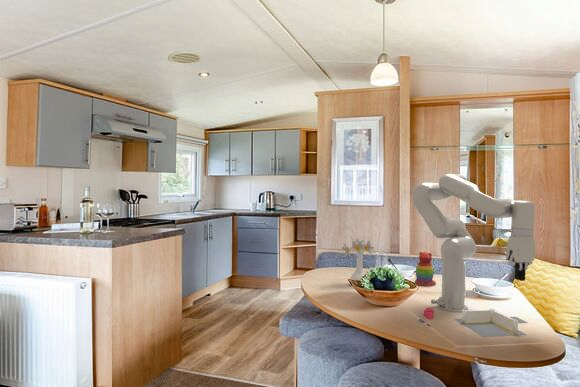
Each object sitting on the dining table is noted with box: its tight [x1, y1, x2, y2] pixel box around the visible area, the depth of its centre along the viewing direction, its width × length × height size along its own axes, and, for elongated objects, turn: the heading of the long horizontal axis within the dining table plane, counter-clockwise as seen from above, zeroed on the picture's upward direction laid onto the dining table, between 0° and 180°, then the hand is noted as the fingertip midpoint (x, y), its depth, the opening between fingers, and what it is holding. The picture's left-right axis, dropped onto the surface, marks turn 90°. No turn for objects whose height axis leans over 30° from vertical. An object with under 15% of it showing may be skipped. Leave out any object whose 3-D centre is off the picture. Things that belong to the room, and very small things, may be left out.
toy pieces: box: [417, 307, 435, 328], centre depth 153 cm, size 12×11×4 cm
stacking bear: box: [414, 251, 437, 287], centre depth 211 cm, size 11×10×18 cm
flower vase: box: [341, 238, 375, 281], centre depth 205 cm, size 13×18×25 cm
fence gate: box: [493, 310, 519, 333], centre depth 146 cm, size 12×1×5 cm, turn 12°
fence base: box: [454, 308, 529, 338], centre depth 148 cm, size 28×18×6 cm, turn 99°
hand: (519, 279), depth 147 cm, fingers closed
